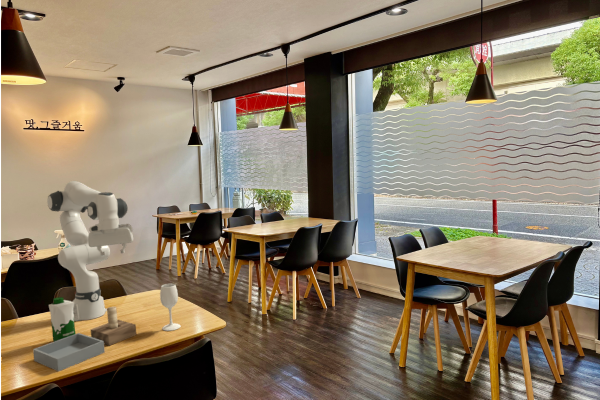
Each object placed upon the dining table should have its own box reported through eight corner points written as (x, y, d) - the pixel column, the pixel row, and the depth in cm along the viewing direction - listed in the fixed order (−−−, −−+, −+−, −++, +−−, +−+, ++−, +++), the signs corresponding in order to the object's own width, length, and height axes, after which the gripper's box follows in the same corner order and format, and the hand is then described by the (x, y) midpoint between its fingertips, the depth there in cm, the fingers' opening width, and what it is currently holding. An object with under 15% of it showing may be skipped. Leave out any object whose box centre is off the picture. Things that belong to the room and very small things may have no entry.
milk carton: (68, 336, 210) (64, 295, 209) (79, 339, 206) (75, 297, 204) (50, 343, 203) (45, 300, 201) (61, 346, 198) (56, 303, 196)
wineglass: (158, 328, 215) (155, 286, 213) (174, 323, 221) (171, 282, 219) (168, 332, 209) (164, 289, 207) (184, 326, 215) (181, 284, 214)
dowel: (107, 337, 206) (105, 308, 205) (115, 334, 209) (112, 306, 208) (112, 339, 204) (110, 310, 202) (120, 336, 207) (118, 307, 206)
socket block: (91, 339, 204) (90, 329, 204) (118, 329, 216) (117, 319, 216) (109, 345, 197) (108, 334, 196) (136, 334, 208) (135, 324, 208)
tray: (34, 360, 185) (32, 349, 184) (79, 343, 201) (78, 332, 200) (58, 371, 174) (57, 359, 173) (104, 352, 190) (103, 341, 189)
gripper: (133, 222, 217) (136, 250, 217) (90, 227, 215) (93, 255, 215) (129, 223, 210) (133, 252, 210) (85, 228, 208) (88, 257, 209)
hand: (112, 254), depth 213 cm, fingers open, 8 cm apart
